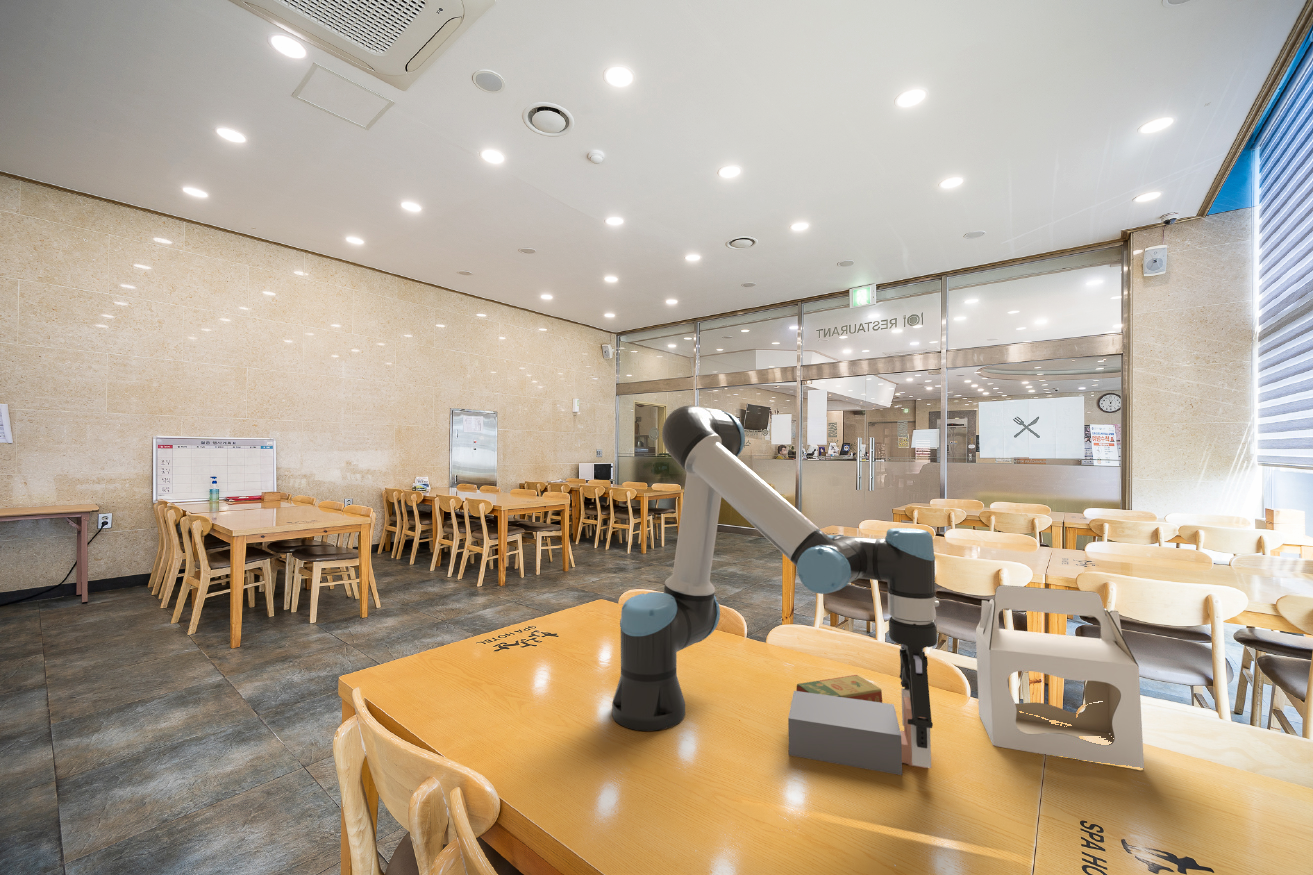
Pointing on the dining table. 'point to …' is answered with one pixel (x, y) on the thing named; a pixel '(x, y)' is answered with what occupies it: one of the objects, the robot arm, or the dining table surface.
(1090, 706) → the gable box
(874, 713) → the sleeve
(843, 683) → the carton
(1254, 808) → the dining table surface
